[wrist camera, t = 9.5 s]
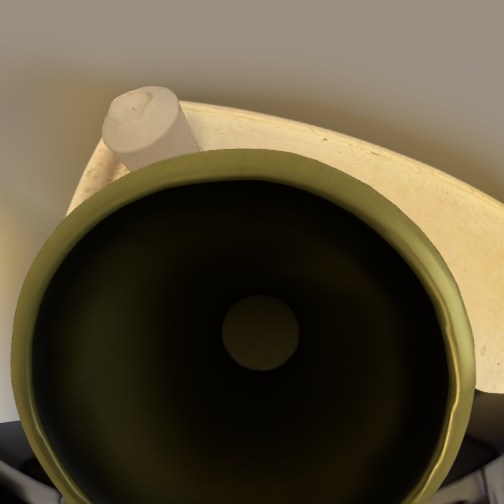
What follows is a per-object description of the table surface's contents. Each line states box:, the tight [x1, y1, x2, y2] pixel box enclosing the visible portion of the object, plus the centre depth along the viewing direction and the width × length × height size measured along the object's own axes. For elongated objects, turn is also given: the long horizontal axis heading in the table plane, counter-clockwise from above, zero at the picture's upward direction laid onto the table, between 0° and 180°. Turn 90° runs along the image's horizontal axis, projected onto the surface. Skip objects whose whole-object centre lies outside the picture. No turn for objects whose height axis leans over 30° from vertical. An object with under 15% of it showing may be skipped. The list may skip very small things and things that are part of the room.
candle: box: [102, 86, 199, 172], centre depth 19 cm, size 6×6×10 cm
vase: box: [11, 149, 476, 504], centre depth 9 cm, size 6×6×14 cm
